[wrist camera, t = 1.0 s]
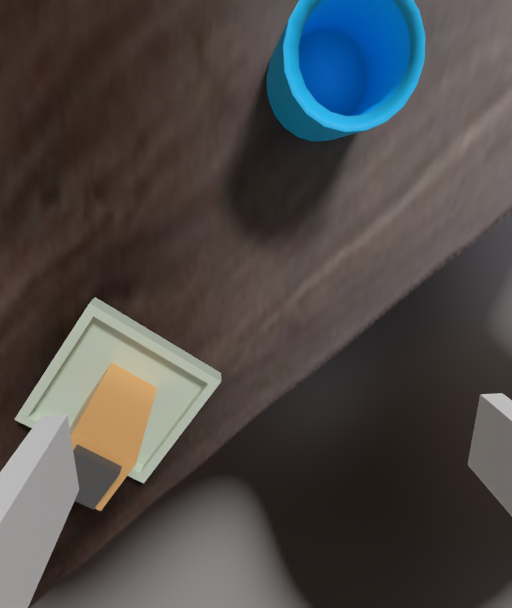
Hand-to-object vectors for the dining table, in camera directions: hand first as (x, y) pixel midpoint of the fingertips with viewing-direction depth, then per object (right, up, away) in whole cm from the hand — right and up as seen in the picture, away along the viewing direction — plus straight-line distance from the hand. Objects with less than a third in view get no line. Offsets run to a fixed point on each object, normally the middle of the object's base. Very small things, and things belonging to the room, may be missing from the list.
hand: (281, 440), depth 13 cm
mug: (+5, +22, +17) cm, 29 cm away
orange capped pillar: (-13, -4, +23) cm, 27 cm away
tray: (-13, -3, +24) cm, 27 cm away
